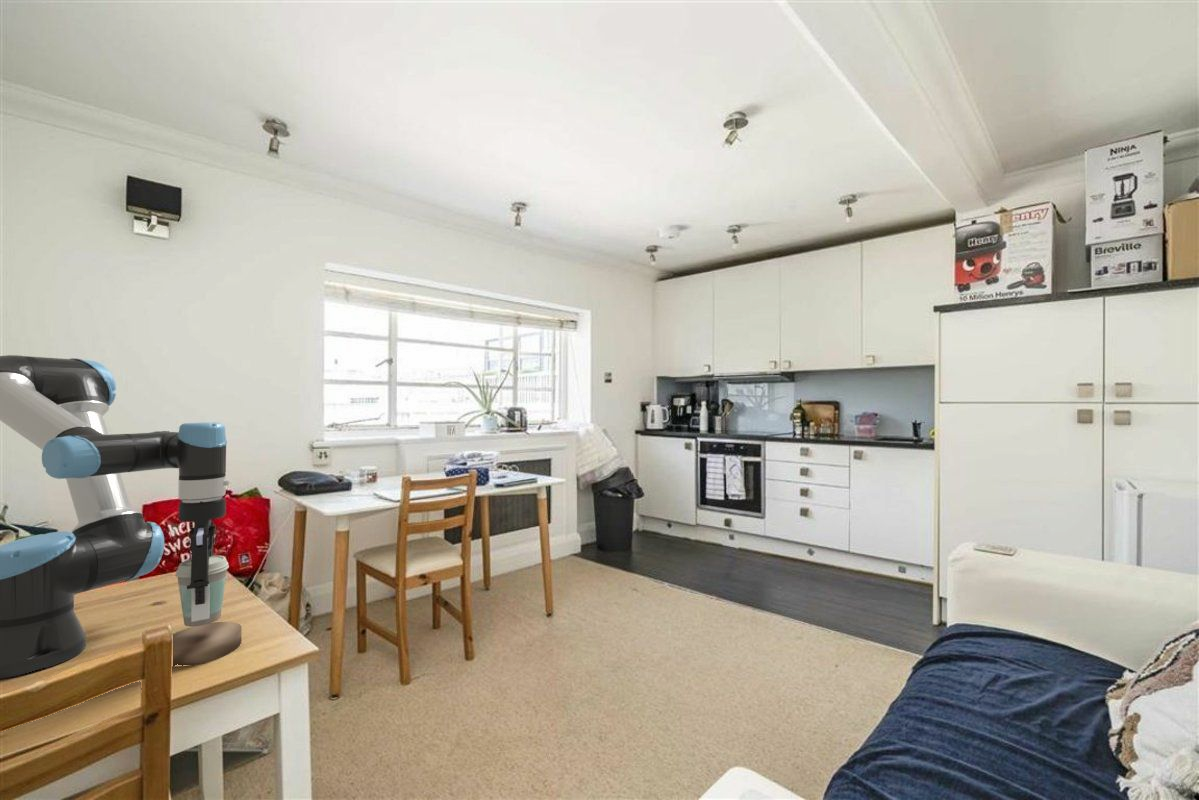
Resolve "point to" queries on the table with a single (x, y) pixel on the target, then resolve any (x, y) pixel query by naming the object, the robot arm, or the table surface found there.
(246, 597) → the table surface
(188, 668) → the table surface
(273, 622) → the table surface
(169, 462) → the robot arm
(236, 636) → the walnut stand
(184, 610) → the coffee cup
